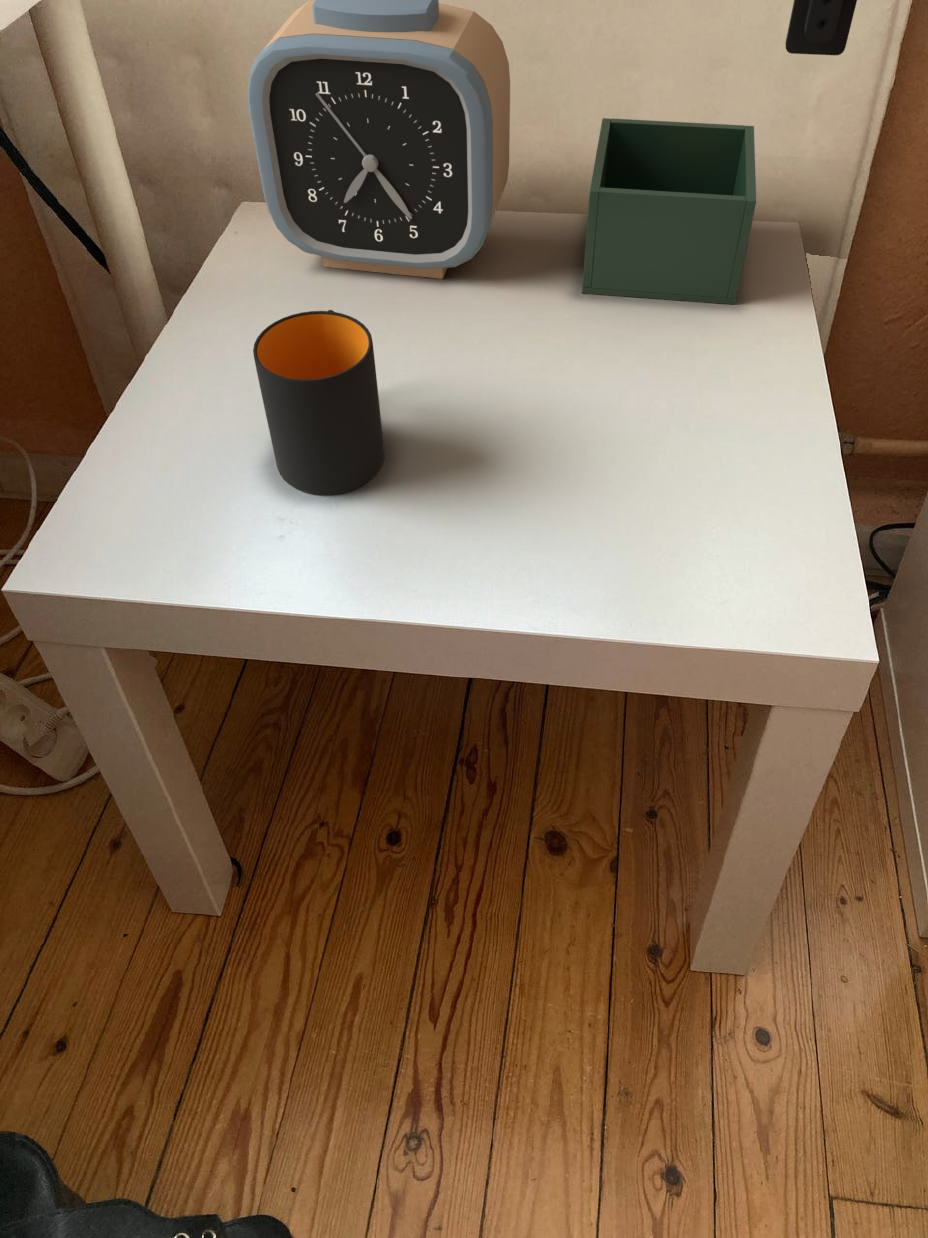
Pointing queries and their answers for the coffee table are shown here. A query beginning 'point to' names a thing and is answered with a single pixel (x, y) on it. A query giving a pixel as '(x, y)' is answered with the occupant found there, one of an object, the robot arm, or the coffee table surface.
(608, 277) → the bin
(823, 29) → the robot arm
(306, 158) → the alarm clock
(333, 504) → the coffee table surface
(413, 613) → the coffee table surface
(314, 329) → the mug
